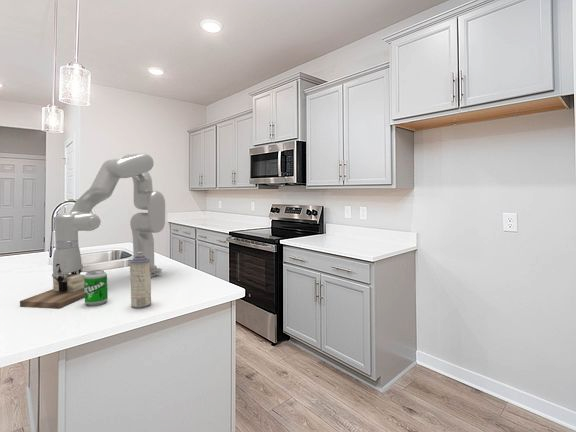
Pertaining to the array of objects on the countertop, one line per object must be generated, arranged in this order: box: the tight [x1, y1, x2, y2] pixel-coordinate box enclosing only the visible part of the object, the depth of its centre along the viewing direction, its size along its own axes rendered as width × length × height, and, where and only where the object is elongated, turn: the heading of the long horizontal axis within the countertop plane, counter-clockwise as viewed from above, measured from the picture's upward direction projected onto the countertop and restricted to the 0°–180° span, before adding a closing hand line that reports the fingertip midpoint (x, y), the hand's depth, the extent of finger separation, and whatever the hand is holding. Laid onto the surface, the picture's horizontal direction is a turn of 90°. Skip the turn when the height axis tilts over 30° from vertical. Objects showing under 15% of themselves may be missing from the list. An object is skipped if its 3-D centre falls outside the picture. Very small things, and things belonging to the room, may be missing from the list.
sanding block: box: [52, 273, 85, 293], centre depth 132 cm, size 9×6×6 cm, turn 84°
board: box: [19, 288, 85, 309], centre depth 129 cm, size 16×22×2 cm
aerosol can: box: [129, 252, 152, 310], centre depth 121 cm, size 7×7×20 cm
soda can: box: [83, 269, 109, 307], centre depth 123 cm, size 8×8×12 cm
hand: (69, 288), depth 132 cm, fingers closed on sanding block, 5 cm apart
